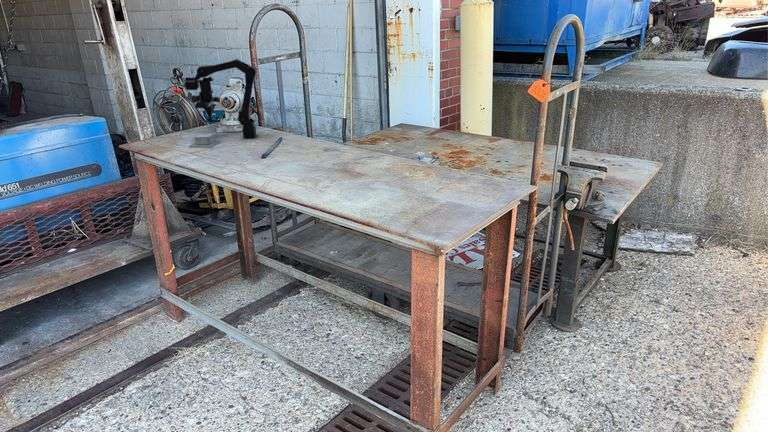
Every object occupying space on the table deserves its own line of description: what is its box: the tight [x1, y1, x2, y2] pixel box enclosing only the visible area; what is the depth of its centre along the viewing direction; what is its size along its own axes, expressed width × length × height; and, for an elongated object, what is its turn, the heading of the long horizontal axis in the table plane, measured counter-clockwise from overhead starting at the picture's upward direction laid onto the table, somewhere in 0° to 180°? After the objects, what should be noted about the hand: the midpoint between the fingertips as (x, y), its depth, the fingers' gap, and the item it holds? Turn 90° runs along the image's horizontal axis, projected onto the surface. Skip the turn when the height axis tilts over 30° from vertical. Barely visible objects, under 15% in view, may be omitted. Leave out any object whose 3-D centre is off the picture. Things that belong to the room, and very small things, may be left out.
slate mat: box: [188, 140, 221, 149], centre depth 298 cm, size 13×12×1 cm
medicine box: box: [194, 132, 217, 145], centre depth 300 cm, size 8×4×9 cm
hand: (210, 117), depth 305 cm, fingers closed
